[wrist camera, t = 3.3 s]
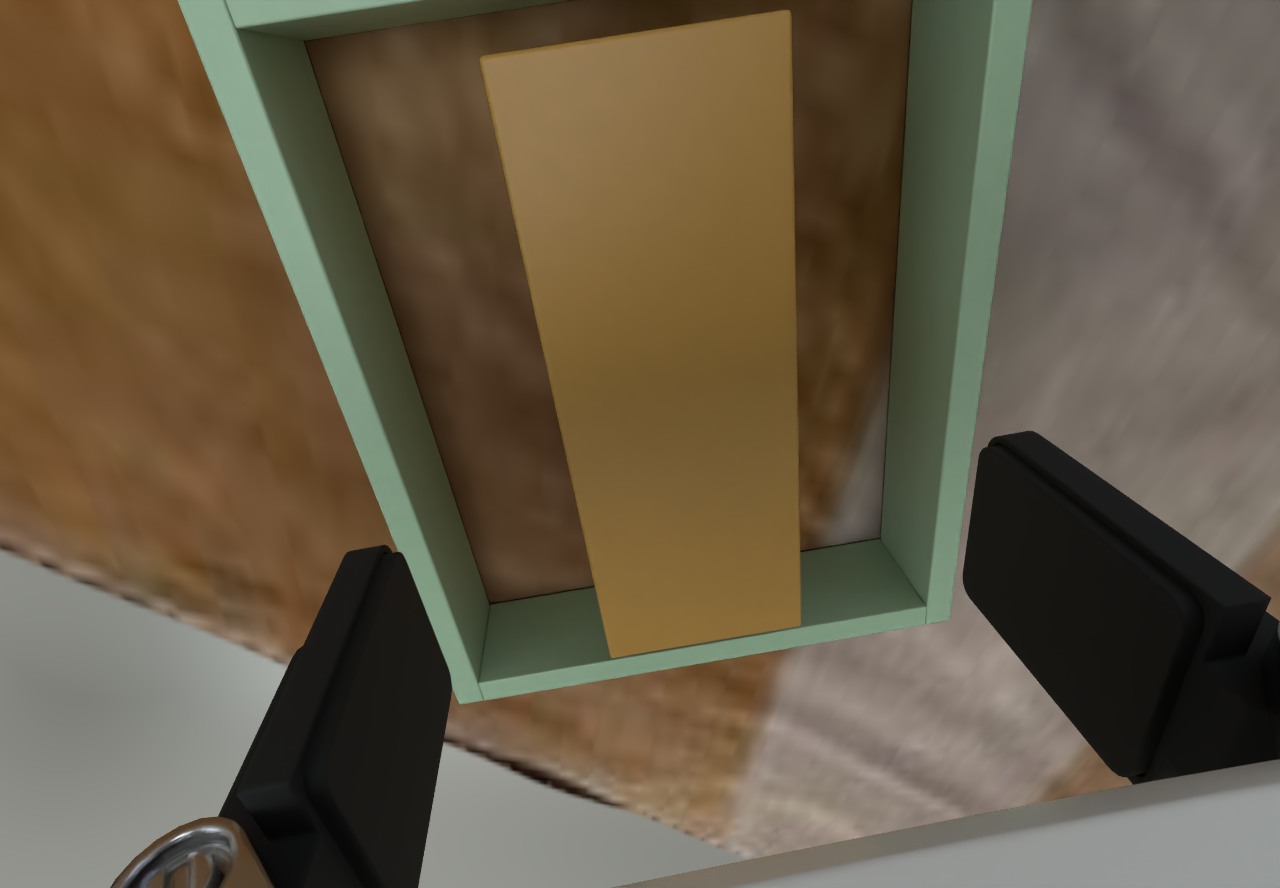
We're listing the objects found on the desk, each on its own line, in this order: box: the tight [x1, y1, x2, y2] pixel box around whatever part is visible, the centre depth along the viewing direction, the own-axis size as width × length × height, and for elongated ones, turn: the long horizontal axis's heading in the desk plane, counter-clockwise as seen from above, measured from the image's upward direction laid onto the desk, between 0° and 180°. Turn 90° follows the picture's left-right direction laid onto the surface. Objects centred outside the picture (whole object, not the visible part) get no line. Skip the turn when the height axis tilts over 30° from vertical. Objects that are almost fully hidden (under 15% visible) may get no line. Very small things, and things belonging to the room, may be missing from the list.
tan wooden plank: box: [479, 9, 801, 658], centre depth 17 cm, size 6×15×4 cm, turn 8°
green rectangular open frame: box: [178, 0, 1033, 704], centre depth 17 cm, size 16×19×4 cm
